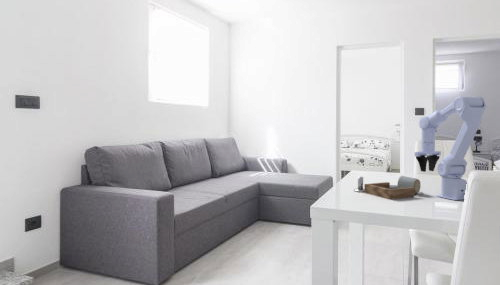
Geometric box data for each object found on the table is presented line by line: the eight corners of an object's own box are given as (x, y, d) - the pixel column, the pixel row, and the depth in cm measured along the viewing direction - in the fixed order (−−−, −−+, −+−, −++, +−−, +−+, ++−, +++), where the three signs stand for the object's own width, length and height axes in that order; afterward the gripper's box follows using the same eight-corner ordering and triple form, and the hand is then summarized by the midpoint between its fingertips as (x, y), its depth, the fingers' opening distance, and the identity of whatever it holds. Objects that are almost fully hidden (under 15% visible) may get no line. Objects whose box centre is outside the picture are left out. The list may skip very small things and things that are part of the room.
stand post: (369, 191, 170) (370, 177, 170) (359, 192, 168) (359, 178, 168) (361, 189, 176) (361, 175, 176) (351, 190, 174) (351, 176, 173)
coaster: (408, 188, 178) (408, 187, 178) (394, 190, 174) (394, 188, 174) (395, 185, 186) (395, 184, 186) (381, 187, 182) (381, 185, 182)
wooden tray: (414, 196, 158) (414, 187, 158) (389, 199, 153) (390, 190, 153) (387, 190, 173) (387, 182, 173) (364, 192, 168) (364, 184, 168)
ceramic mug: (415, 195, 161) (415, 178, 161) (396, 193, 167) (397, 176, 167) (423, 192, 169) (424, 176, 168) (405, 190, 175) (406, 174, 174)
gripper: (432, 141, 177) (431, 169, 178) (409, 142, 172) (409, 170, 172) (444, 142, 171) (444, 171, 171) (421, 143, 165) (421, 172, 166)
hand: (427, 171), depth 171 cm, fingers open, 5 cm apart
